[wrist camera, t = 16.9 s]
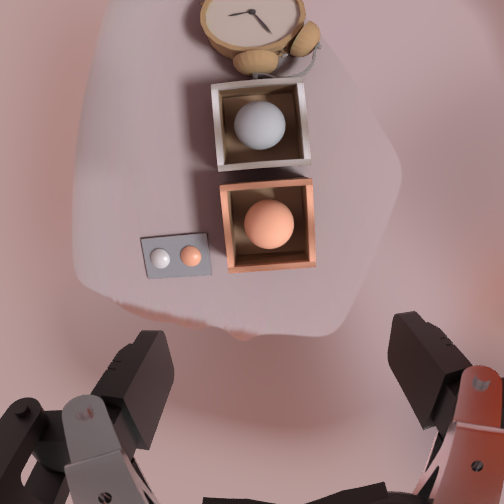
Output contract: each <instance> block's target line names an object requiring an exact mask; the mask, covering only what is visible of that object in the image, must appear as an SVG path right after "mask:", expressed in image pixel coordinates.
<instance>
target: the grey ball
mask: <svg viewBox="0 0 504 504" xmlns="http://www.w3.org/2000/svg"><path fill="white" fill-rule="evenodd" d="M234 129H235V133H236V135H237V137H238V139H239V140H240V141H241V142H242V143H243V144H244V145H246V146H247V147H249V148H252V149H258V150H262V149H267V148H270V147H272V146H274V145H275V144H277V143H278V142H279V141H280V140H281V138H282V136H283V134H284V132H285V119H284V116H283V114H282V112H281V111H280V110H279V109H278V108H277V107H276V106H275V105H273V104H272V103H269V102H266V101H253V102H250V103H248V104H246V105H244V106H243V107H242V108H241V109H240V110H239V111H238V113H237V115H236V117H235V121H234Z"/></svg>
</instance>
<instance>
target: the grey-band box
mask: <svg viewBox="0 0 504 504" xmlns="http://www.w3.org/2000/svg"><path fill="white" fill-rule="evenodd" d="M211 95H212V108H213V120H214V132H215V143H216V155H217V165H218V172H222V171H232V170H243V169H254V168H267V167H282V166H300V165H311V155H310V143H309V132H308V121H307V111H306V101H305V92H304V84H303V77H296V78H271V79H256V80H245V81H235V82H226V83H218V84H211ZM253 101H266V102H269V103H272V104H273V105H275V106H276V107H277V108H278V109H279V110H280V111H281V112H282V114H283V116H284V119H285V132H284V134H283V136H282V138H281V140H280V141H279V142H278V143H277V144H275V145H274V146H272V147H270V148H267V149H262V150H258V149H252V148H249V147H247V146H246V145H244V144H243V143H242V142H241V141H240V140H239V139H238V137H237V135H236V133H235V129H234V121H235V117H236V115H237V113H238V111H239V110H240V109H241V108H242V107H243V106H244V105H246V104H248V103H250V102H253Z"/></svg>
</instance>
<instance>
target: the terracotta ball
mask: <svg viewBox="0 0 504 504" xmlns="http://www.w3.org/2000/svg"><path fill="white" fill-rule="evenodd" d="M244 228H245V232H246V234H247V236H248V238H249V239H250V241H251V242H252V243H254V244H255V245H257V246H258V247H261V248H264V249H274V248H277V247H280V246H282V245H283V244H285V243H286V242H287V241H288V240H289V238H290V237H291V235H292V232H293V229H294V220H293V216H292V213H291V212H290V210H289V209H288V208H287V207H286V206H285V205H284V204H283V203H281V202H279V201H277V200H272V199H266V200H261V201H259V202H257V203H255V204H254V205H253V206H252V207H251V208H250V209H249V210H248V212H247V214H246V216H245V220H244Z"/></svg>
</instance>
